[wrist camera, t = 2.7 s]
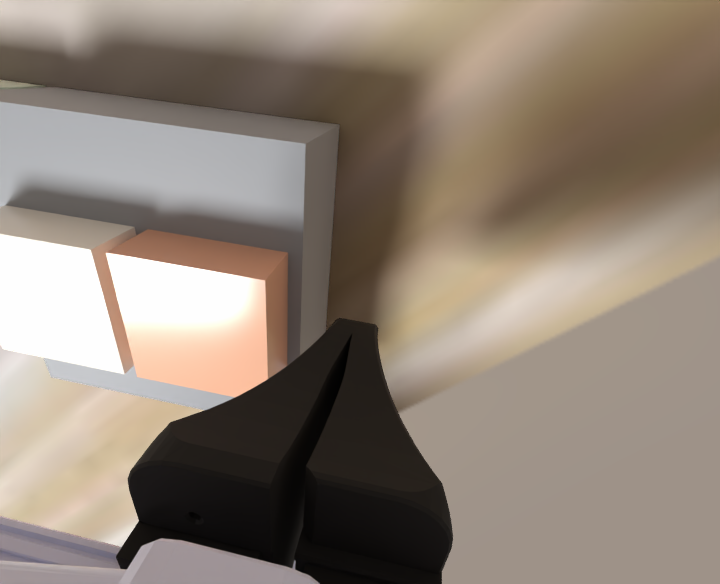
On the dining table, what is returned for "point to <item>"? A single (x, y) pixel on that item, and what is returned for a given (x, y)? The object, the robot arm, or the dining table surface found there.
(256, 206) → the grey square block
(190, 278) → the terracotta tile
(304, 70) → the dining table surface
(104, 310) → the cream tile
